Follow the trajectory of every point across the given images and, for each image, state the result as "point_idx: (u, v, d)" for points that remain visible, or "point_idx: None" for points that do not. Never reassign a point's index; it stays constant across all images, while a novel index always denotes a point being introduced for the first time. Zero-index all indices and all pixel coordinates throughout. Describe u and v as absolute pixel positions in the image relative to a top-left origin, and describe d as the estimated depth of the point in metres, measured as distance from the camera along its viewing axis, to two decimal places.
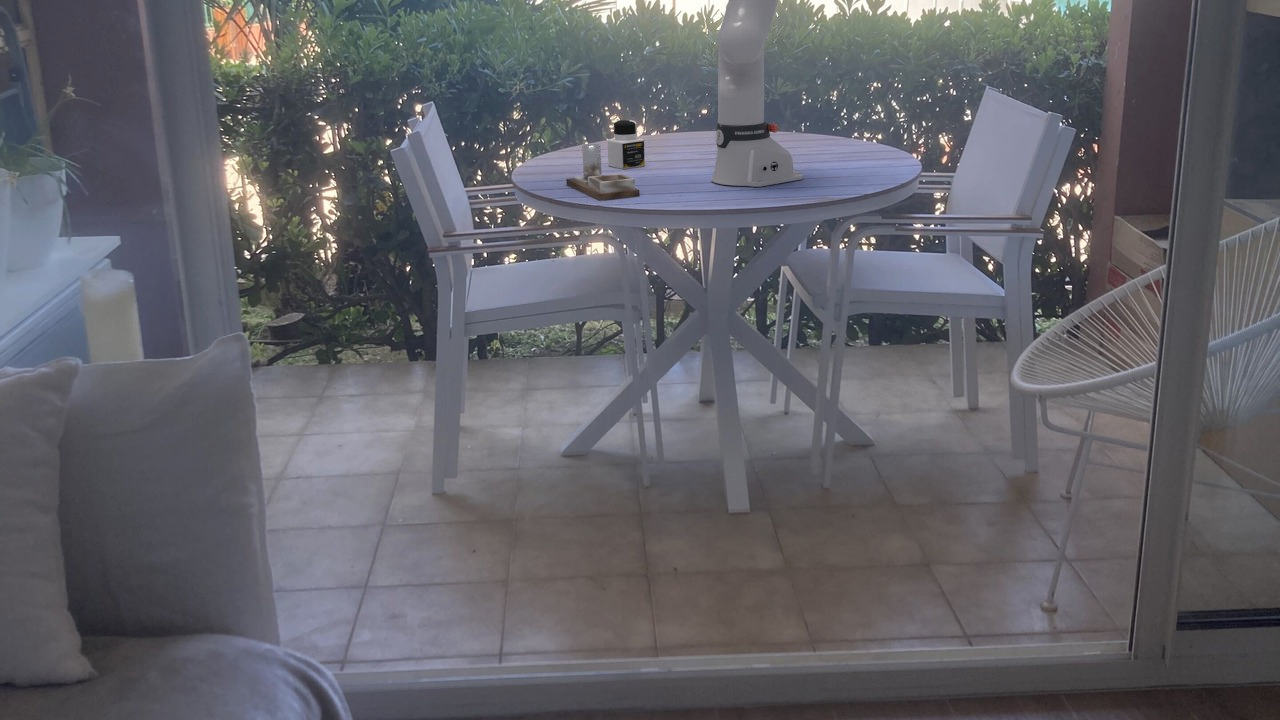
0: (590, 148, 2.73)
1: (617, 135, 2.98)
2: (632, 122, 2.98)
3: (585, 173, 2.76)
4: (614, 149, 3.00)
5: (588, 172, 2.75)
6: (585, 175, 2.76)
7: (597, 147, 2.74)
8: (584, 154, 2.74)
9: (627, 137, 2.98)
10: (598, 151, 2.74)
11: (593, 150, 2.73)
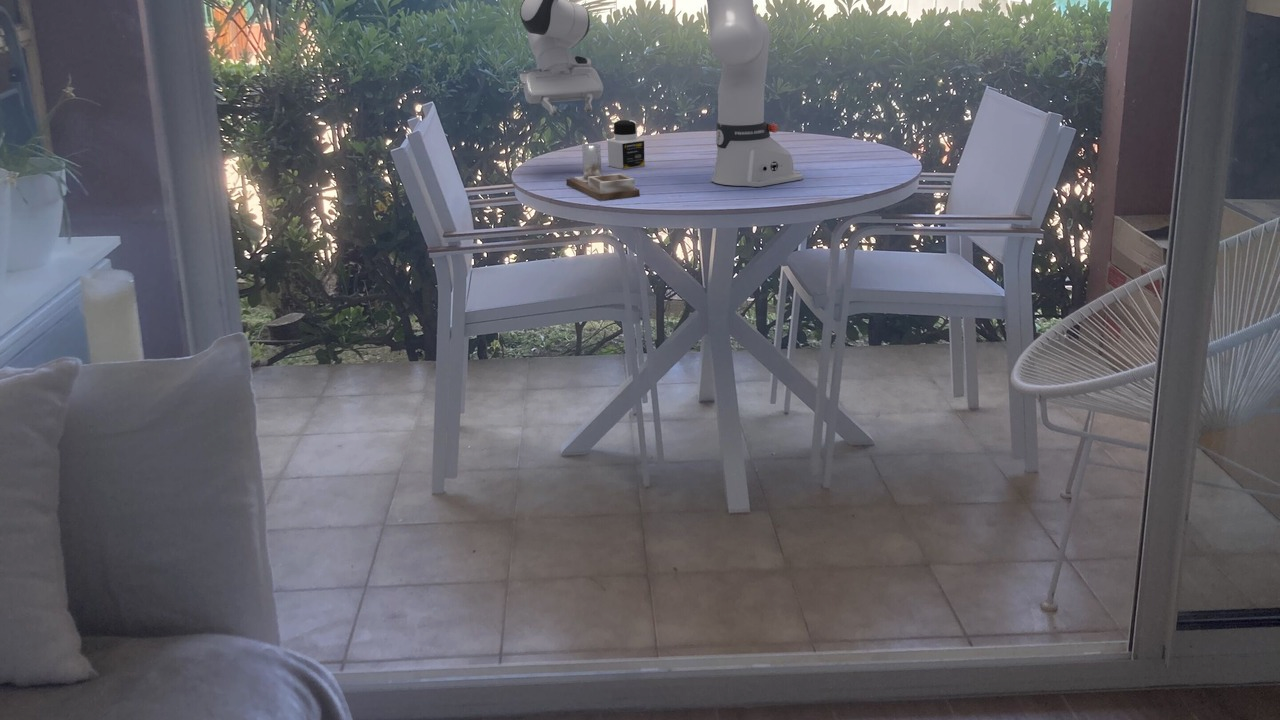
0: (590, 148, 2.73)
1: (617, 135, 2.98)
2: (632, 122, 2.98)
3: (585, 173, 2.76)
4: (615, 149, 3.00)
5: (588, 172, 2.75)
6: (585, 175, 2.76)
7: (597, 147, 2.74)
8: (584, 154, 2.74)
9: (627, 137, 2.98)
10: (598, 151, 2.74)
11: (593, 150, 2.73)
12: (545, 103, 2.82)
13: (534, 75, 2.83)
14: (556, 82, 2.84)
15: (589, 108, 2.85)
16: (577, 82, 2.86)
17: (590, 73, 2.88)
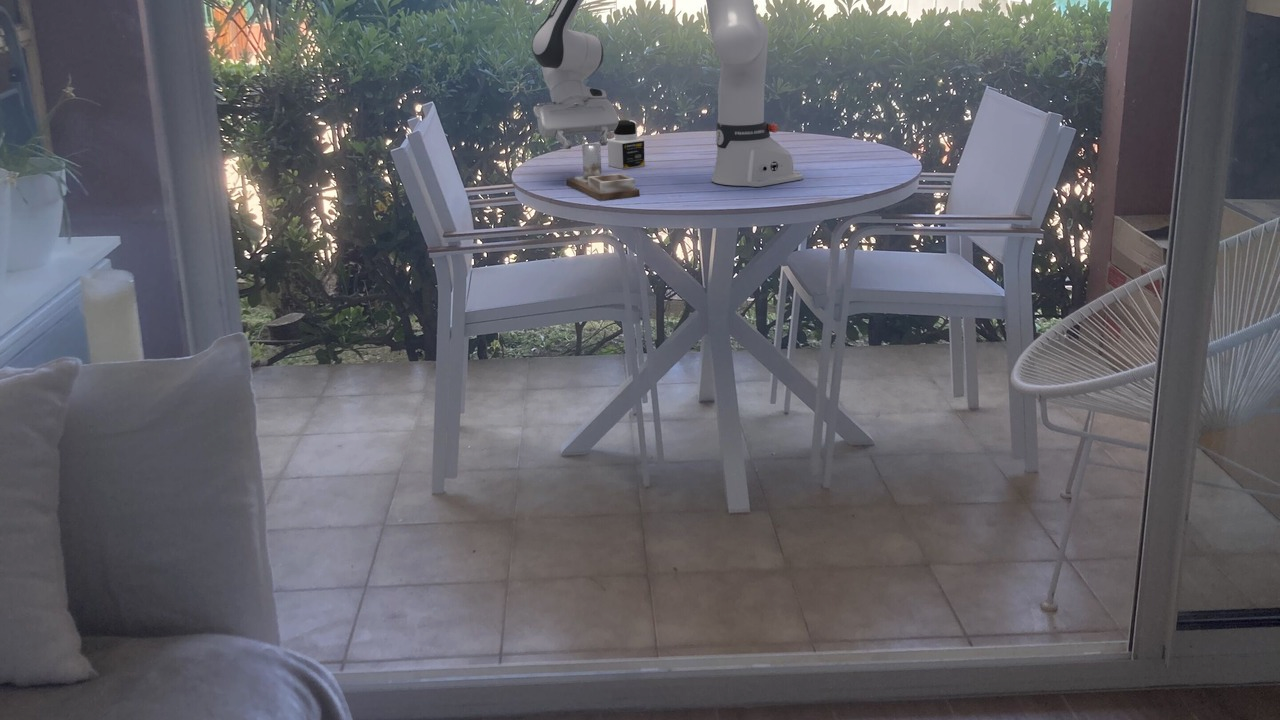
0: (590, 148, 2.73)
1: (617, 135, 2.98)
2: (632, 122, 2.98)
3: (585, 173, 2.76)
4: (615, 149, 3.00)
5: (588, 172, 2.75)
6: (585, 175, 2.76)
7: (597, 147, 2.74)
8: (584, 154, 2.74)
9: (627, 137, 2.98)
10: (598, 151, 2.74)
11: (593, 150, 2.73)
12: (559, 137, 2.76)
13: (548, 108, 2.78)
14: (571, 115, 2.79)
15: (604, 141, 2.79)
16: (592, 115, 2.81)
17: (605, 106, 2.83)
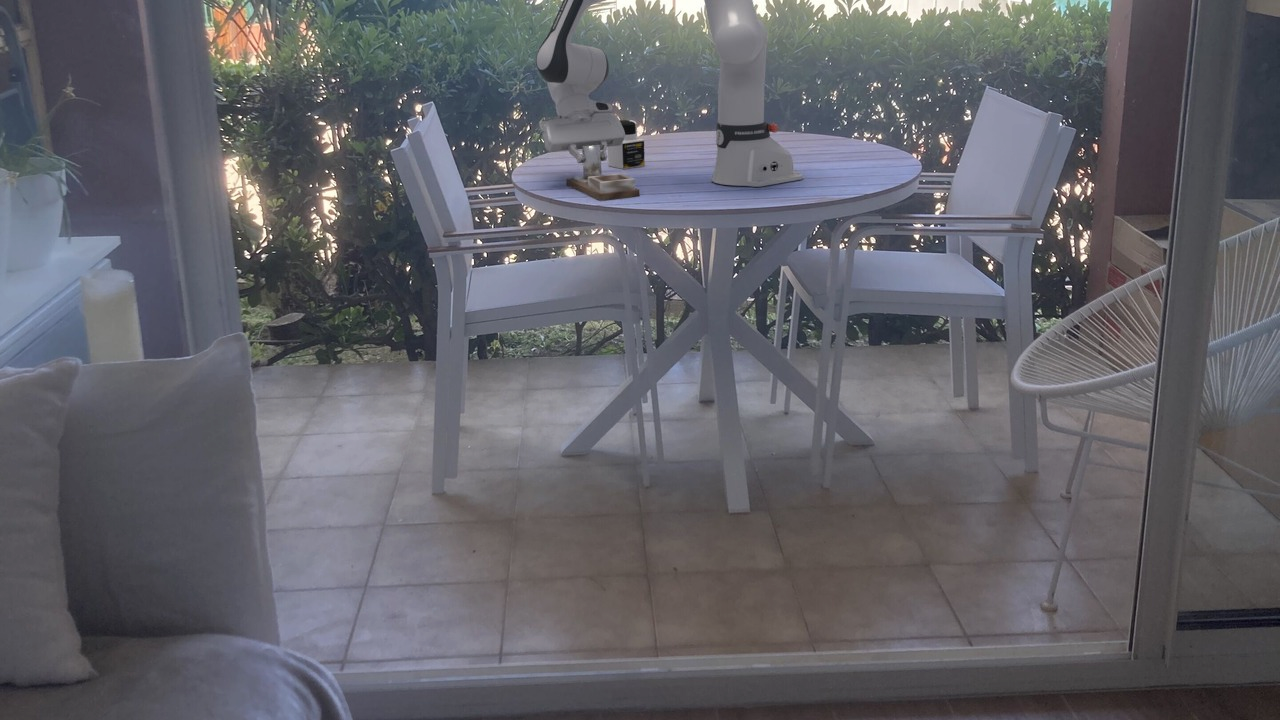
0: (590, 148, 2.73)
1: None
2: (632, 122, 2.98)
3: (585, 173, 2.76)
4: (615, 149, 3.00)
5: (588, 172, 2.75)
6: (585, 175, 2.76)
7: (597, 147, 2.74)
8: (584, 154, 2.74)
9: (627, 137, 2.98)
10: (598, 151, 2.74)
11: (593, 150, 2.73)
12: (573, 151, 2.75)
13: (554, 123, 2.75)
14: (577, 130, 2.76)
15: (604, 157, 2.76)
16: (598, 129, 2.78)
17: (611, 120, 2.81)
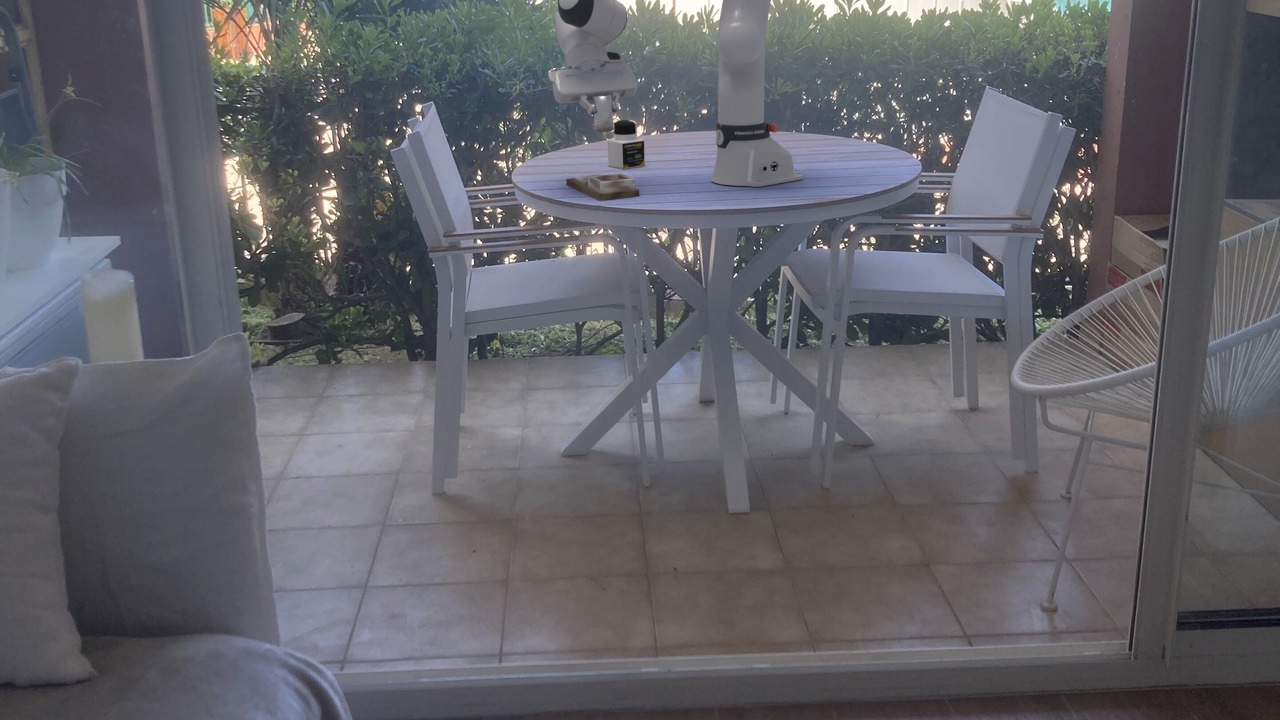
0: (601, 98, 2.62)
1: (617, 135, 2.98)
2: (632, 122, 2.98)
3: (596, 125, 2.65)
4: (615, 149, 3.00)
5: (600, 123, 2.64)
6: (596, 127, 2.65)
7: (608, 97, 2.63)
8: (595, 105, 2.63)
9: (627, 137, 2.98)
10: (610, 101, 2.63)
11: (605, 101, 2.62)
12: (583, 102, 2.64)
13: (564, 73, 2.65)
14: (587, 80, 2.66)
15: (616, 108, 2.65)
16: (610, 79, 2.67)
17: (623, 70, 2.69)
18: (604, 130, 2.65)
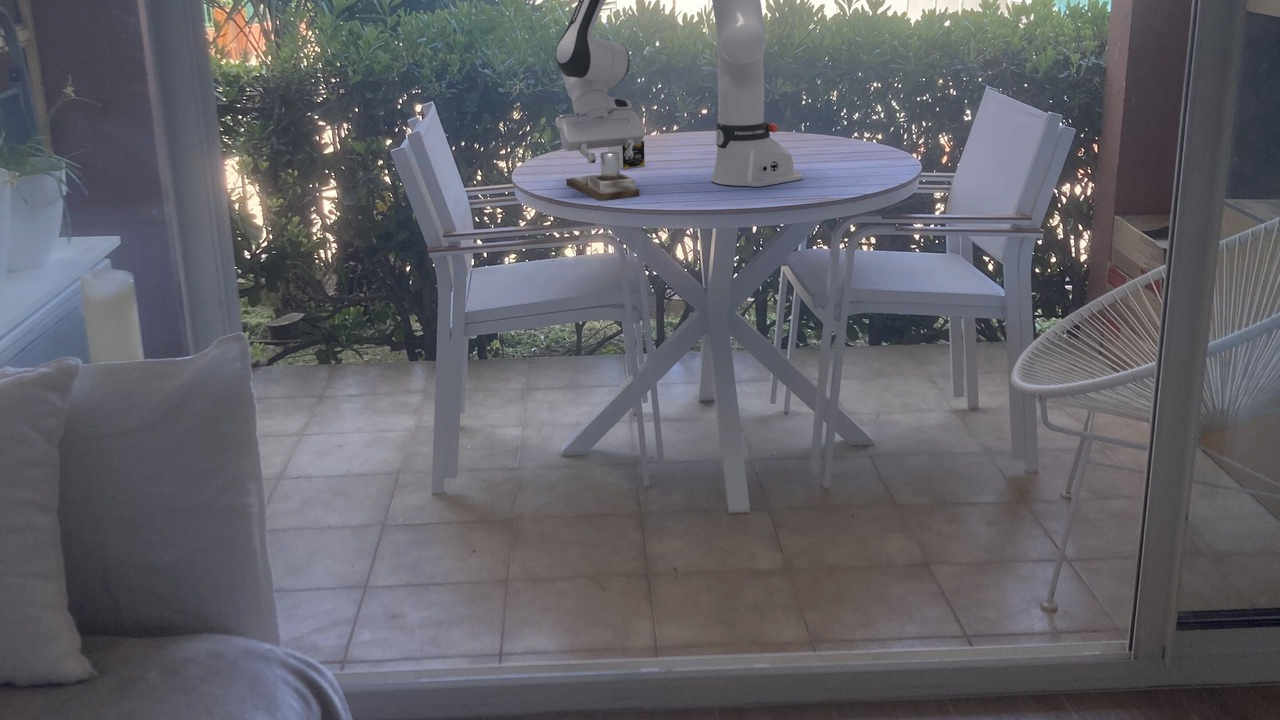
0: (609, 156, 2.63)
1: None
2: None
3: None
4: (615, 149, 3.00)
5: (607, 180, 2.65)
6: None
7: (616, 155, 2.63)
8: (602, 162, 2.64)
9: None
10: (617, 159, 2.64)
11: (612, 158, 2.63)
12: (583, 150, 2.63)
13: (571, 120, 2.64)
14: (595, 128, 2.65)
15: (630, 155, 2.66)
16: (617, 127, 2.67)
17: (630, 117, 2.70)
18: None
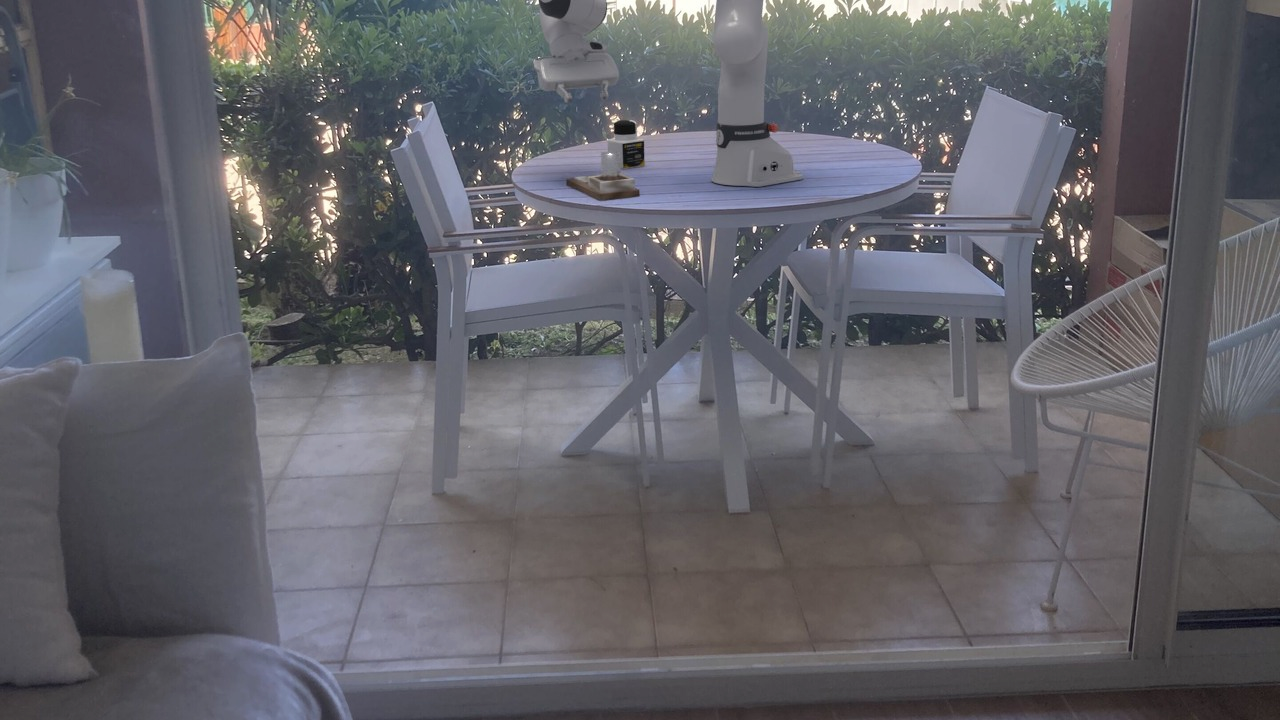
0: (609, 156, 2.63)
1: (617, 135, 2.98)
2: (632, 122, 2.98)
3: None
4: (615, 149, 3.00)
5: (607, 180, 2.65)
6: None
7: (616, 155, 2.63)
8: (603, 162, 2.64)
9: (627, 137, 2.98)
10: (617, 159, 2.64)
11: (613, 159, 2.63)
12: (560, 90, 2.73)
13: (548, 62, 2.75)
14: (571, 69, 2.76)
15: (605, 95, 2.76)
16: (593, 68, 2.78)
17: (605, 59, 2.80)
18: None
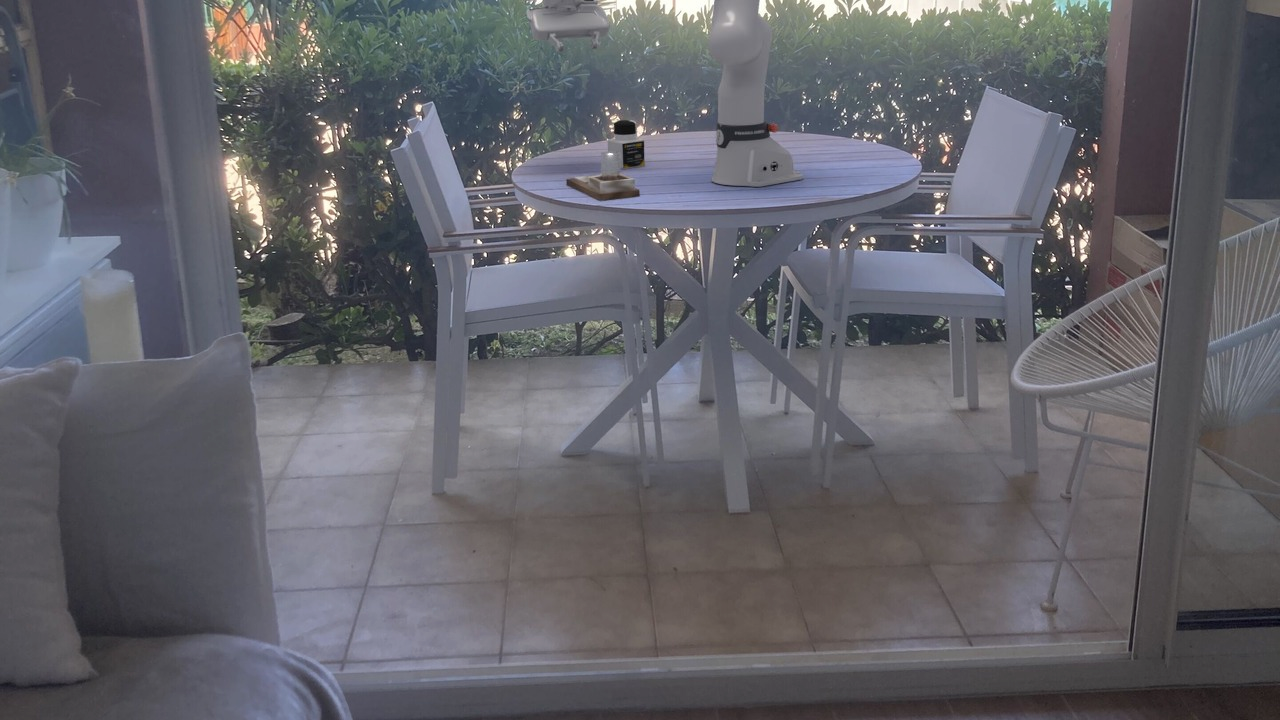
0: (609, 156, 2.63)
1: (617, 135, 2.98)
2: (632, 122, 2.98)
3: (603, 181, 2.66)
4: (615, 149, 3.00)
5: (606, 180, 2.65)
6: None
7: (616, 155, 2.63)
8: (603, 162, 2.64)
9: (627, 137, 2.98)
10: (617, 159, 2.64)
11: (612, 158, 2.63)
12: (552, 39, 2.82)
13: (541, 12, 2.83)
14: (563, 19, 2.84)
15: (596, 45, 2.85)
16: (584, 19, 2.86)
17: (596, 11, 2.88)
18: None
